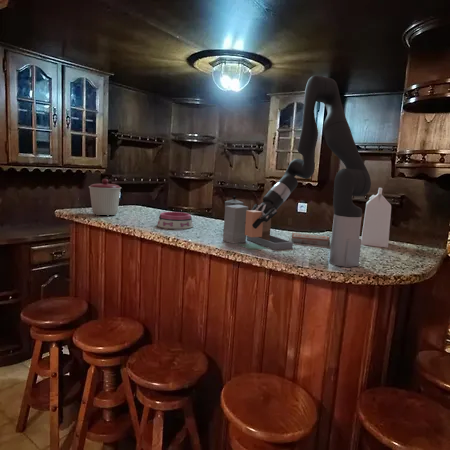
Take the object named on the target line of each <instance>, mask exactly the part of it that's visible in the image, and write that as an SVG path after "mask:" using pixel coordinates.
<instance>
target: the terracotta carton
mask: <svg viewBox="0 0 450 450" xmlns="http://www.w3.org/2000/svg"><path fill="white" fill-rule="evenodd" d="M260 215H261V211H256V210H251V209H250V210H249V209H248V210H246V223H245V235H246V237H247V236H249V237H262V229H263V223H261V224H260V225H259V226H258V227H257V228H256V229H255V228H254V227H253V226H252V224H253V223H254V222H255V221H256V220H257V219H259V216H260Z"/></svg>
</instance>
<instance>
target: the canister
mask: <svg viewBox="0 0 450 450" xmlns="http://www.w3.org/2000/svg"><path fill="white" fill-rule="evenodd" d="M88 188H89V194H90V203H91V205H90V206H91V211H92V214H93V215H95V214H96V215H95V216H97V215H114V216H116V215H117V214H118V211H119V205H120V204H119V202H120V194H121V189H122V187H121V186H120V185H119V184H115V183H109V179H107V178H102V180H101V183H93V184H90V185H89V186H88ZM115 214H116V215H115Z"/></svg>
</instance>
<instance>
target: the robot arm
mask: <svg viewBox="0 0 450 450" xmlns="http://www.w3.org/2000/svg"><path fill="white" fill-rule="evenodd" d="M303 98H304V99H303V111H302V112H303V113H302V124H301V130H300V134H299V135H300V136H299V139H298V143H297V152H298V153H299V154H300V155H302V158H303V159H301V158H294V159H293V160H291V161H290V162H289V165H288V166H287V169H286V170H285V171H284V174H283V175H282V177H281V178H280V179H279V180H278V181H277V182H276V183H275V184H273V186H272V187H270V189H269V190H268V191H267V193H266V194H265V195H264V196H263V198H262V202H261V203H260V204H257V203H255V204H254V205H253V206H252V208H251V209H250V210H256V211H261V215H260V216H259V219H257V220H256V221H255V222H254V223H253V224H252V226H253V227H254V228H255V229H256V228H257V227H258V226H259V225H260V224H261V223H263V222H264V221H265V222H267V221H269V220H270V219H271V220H272V218H273V217H274V216H275V215H277V214H278V211H277V210H278V209H279V208H280V207H281V206H282V205H283V204H284V203H285V202H286V200H287V199H288V198H289V197H290V195H291V194H292V193H293V191H295V189H297V186H298V185H299V181H298V179H297V178H296V177H299V178H302V179H305V180H307V179H310V178H311V177H312V176H313V175H314V173H315V168H316V162H315V156H316V155H315V152H316V147H317V143H318V138H319V129H318V124H317V120H316V116H315V108H316V103H317V102H318V103H321V104H322V103H323V104H324V107H325V109H326V113H327V115H326V117H325V119H324V122H323V124H322V125H323V126H322V133H323V136H324V139H325V142H326V145H327V146H328V148H329V149H330V150H331V152H332V153H333V154H334V155H335V156H336V157H337V158H338V159H339V160H340V161H341V162H342V164H343V165H344V166H345V168H341V169H339V170H338V172H336V174H335V177H334V181H333V199H332V205H333V207H332V208H333V218H332V220H333V221H332V222H333V223H332V227H331V228H332V231H331V237H330V238H331V239H330V248H329V260H328V262H329V264H331V265H335V266H338V267H339V266H340V267H344V268H352V267H358V266H360V265H359V264H360V256H361V255H360V254H361V249H362V248H361V247H362V244H361V238H360V234H361V225H362V216H363V209H362V208H361V207H359V206H357V205H356V204H355V203H354V202H353V197H363V196H366V195H367V194H369V192H370V191H371V187H372V181H371V175H370V172H369V171H368V169H367V167H366V165H365V162H364V160H363V158H362V156H361V155H360V153H359V150H358V147H357V145H356V143H355V139H354V137H353V132H352V130H351V128H350V125H349V123H348V120H347V116H346V114H345V111H344V108H343V104H342V100H341V96H340V91H339V87H338V83H337V81H336V80H334V79H333V78H331V77H325V76H322V75H321V76H320V75H312V76H311V77H309V78H308V80H307V83H306V86H305V90H304V97H303ZM245 223H246V222H245Z"/></svg>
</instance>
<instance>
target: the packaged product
mask: <svg viewBox="0 0 450 450" xmlns="http://www.w3.org/2000/svg"><path fill="white" fill-rule="evenodd" d="M330 238H331V237H330V236H327V235H319V234H317V235H316V234H308V233H300V232H292V233H291V237H288V239H287V241H290V242H293V245H299V246H309V247H318V248H325V249H328V250H330V248H331V239H330Z"/></svg>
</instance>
